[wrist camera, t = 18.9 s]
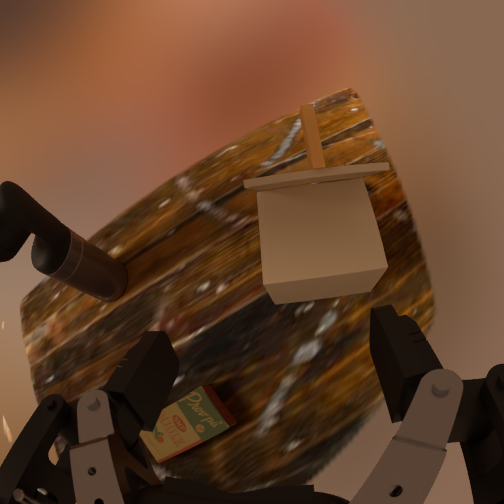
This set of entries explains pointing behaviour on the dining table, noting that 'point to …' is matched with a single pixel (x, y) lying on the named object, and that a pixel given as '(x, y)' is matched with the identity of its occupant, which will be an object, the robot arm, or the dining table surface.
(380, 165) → the tan box lid
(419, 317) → the dining table surface
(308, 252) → the cardboard box
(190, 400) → the carton
